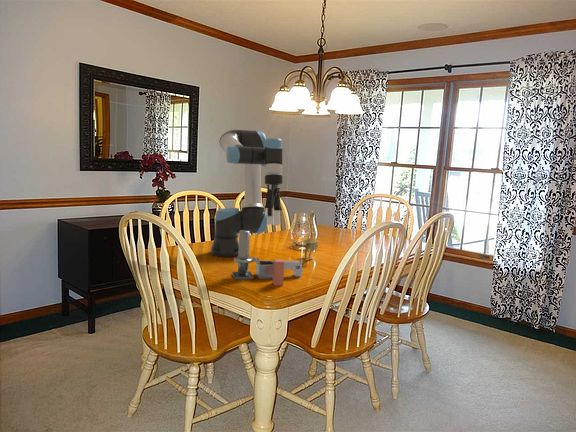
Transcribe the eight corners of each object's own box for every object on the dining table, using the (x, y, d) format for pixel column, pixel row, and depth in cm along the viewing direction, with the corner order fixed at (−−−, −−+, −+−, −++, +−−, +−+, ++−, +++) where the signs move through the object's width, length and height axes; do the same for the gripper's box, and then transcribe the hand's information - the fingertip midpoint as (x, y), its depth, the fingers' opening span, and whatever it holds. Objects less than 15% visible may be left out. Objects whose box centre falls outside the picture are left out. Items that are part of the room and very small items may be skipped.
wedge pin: (272, 282, 188) (273, 259, 186) (280, 282, 188) (282, 259, 187) (274, 285, 184) (275, 261, 183) (282, 285, 185) (284, 261, 183)
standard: (232, 274, 196) (233, 229, 193) (255, 273, 199) (257, 229, 196) (234, 279, 189) (236, 232, 186) (258, 279, 191) (261, 233, 188)
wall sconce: (302, 255, 236) (305, 208, 232) (320, 258, 233) (323, 210, 229) (295, 262, 222) (298, 212, 218) (313, 264, 220) (317, 214, 216)
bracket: (255, 273, 199) (256, 259, 198) (298, 273, 204) (299, 259, 202) (258, 278, 192) (259, 264, 191) (303, 278, 197) (304, 263, 196)
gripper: (276, 170, 178) (276, 224, 177) (287, 178, 203) (287, 225, 202) (257, 170, 180) (257, 224, 179) (271, 178, 204) (271, 225, 203)
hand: (273, 225), depth 190 cm, fingers open, 13 cm apart
